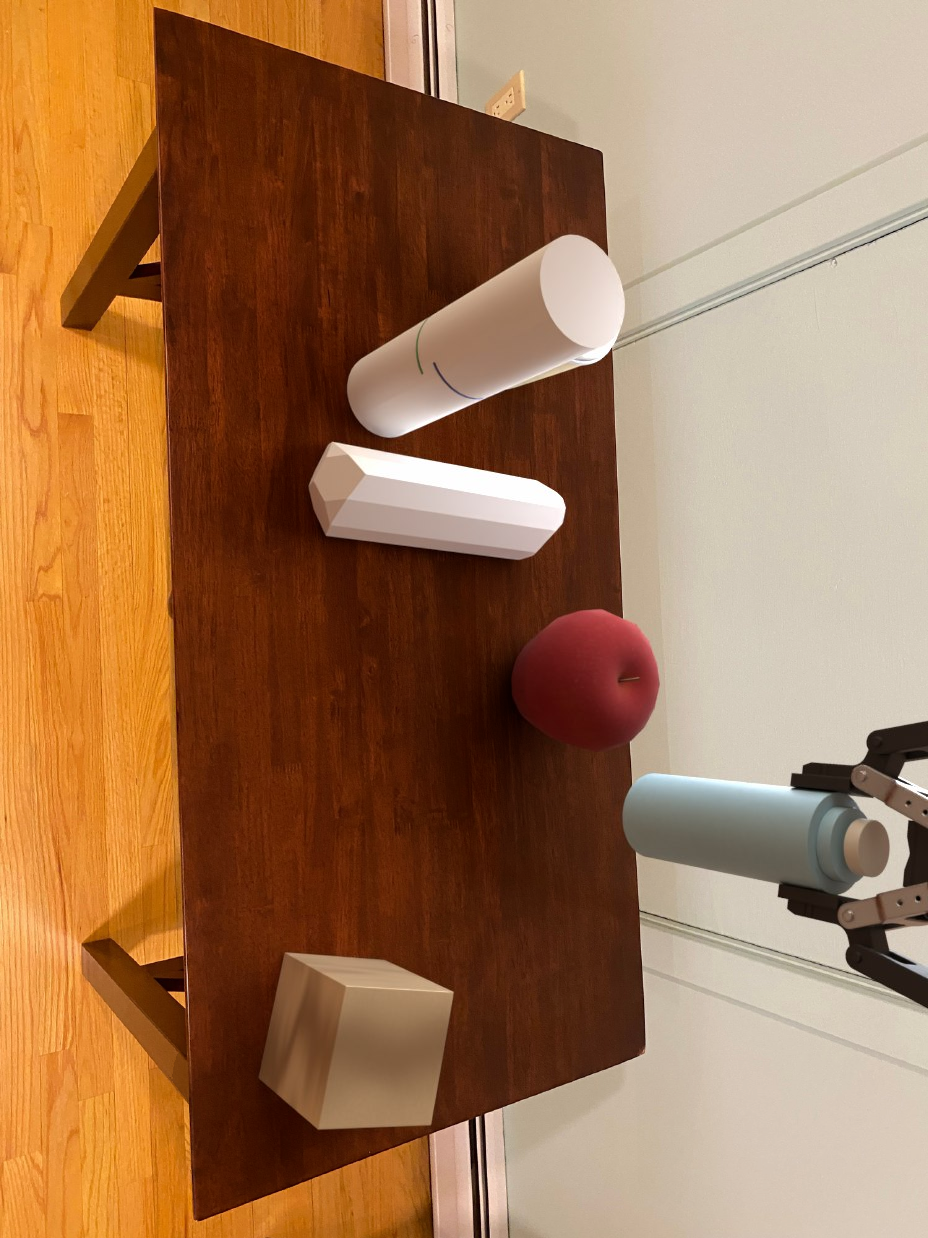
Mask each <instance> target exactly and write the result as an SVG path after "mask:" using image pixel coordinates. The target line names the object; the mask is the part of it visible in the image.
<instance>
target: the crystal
mask: <svg viewBox="0 0 928 1238" xmlns="http://www.w3.org/2000/svg"><path fill="white" fill-rule="evenodd" d="M308 492H309V495H310V499H311V504H312V508H313V509H312V510H313V511H314V514H315V515H316V517H317V520H318V522H319V525H320V527H321V528H322V531H323V534H324V535H325V536H326V537H331V538H332V537H333V538H339V539H349V540H358V541H364V542H365V541H366V542H371V543H372V542H374V543H380V544H388V545H395V546H396V545H397V546H406V547H413V548H419V549H420V548H421V549H428V550H430V549H431V550H437V551H445V552H452V553H453V552H454V553H460V554H468V555H475V556H476V555H477V556H485V557H491V558H492V557H493V558H500V559H507V560H508V559H509V560H515V561H516V560H517V561H521V560H524V559H528V558H530V557H534V556H535V554H536V553H537V552H538V551H539V550H540V549H541V548H542V547H543V546H544V545H545V544H546V543H547V542H548V540H550V539H551V538H552V536H553V535H554V534H555V533H556V532H557V531H558V529H560V528H561V526H562V525H563V523H564V519H565V514H566V504H565V502H564V499H563V497H562V496H561V495H560V494H559V493H558V492H556V491H555V490H553V489H552V488H550V487H548V486H547V485H545V484H543V483H541V482H540V481H538V480H535V479H531V478H524V477H521V476H515V475H509V474H503V473H498V472H493V471H489V470H482V469H477V468H472V467H467V466H462V465H457V464H451V463H446V462H445V463H444V462H441V461H435V460H429V459H424V458H420V457H414V456H410V455H409V456H408V455H404V454H398V453H394V452H387V451H383V450H378V449H371V448H367V447H362V446H356V445H352V444H351V445H350V444H346V443H341V442H336V441H335V442H334V441H330V442H329V443H328V444H327V446H326V447H325V450H324V452H323V454H322V456H321V457H320V460H319V462H318V463H317V466H316V467H315V470H314V471H313V474H312V476H311V478H310V481H309V484H308Z"/></svg>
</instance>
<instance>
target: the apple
mask: <svg viewBox="0 0 928 1238" xmlns="http://www.w3.org/2000/svg"><path fill="white" fill-rule="evenodd" d="M660 686H661V683H660V675H659V667H658V662H657V660H656V657H655V654H654V651H653V648H652V646H651V642H650V640H649V639H648V638H647V637H646V635H645V634H644V632H643V631H642V630H641V628H640V627H639V626H638V624H637V623H634V622H632V621H630V620H627V619H626V618H625V619H624V618H622V617H620V616H618V615H617V614H616V615H615V614H614V613H611V612H609V611H607V610H604V609H602V608H598V609H586V610H584V609H583V610H578V611H574V612H572V613H568V614H565V615H562V616H559V617H556V618H554V620H553V621H552V622H550V623H549V624H548V625H547V626H545V627H544V628H543V629H542V630H541V631H540V632H539V633H537V634H536V635H535V636H533V638H531V639H530V640H529V641H528V642H527V643H525V645H524V646H523V647H522V649H521V650H520V652H519V654H518V655H517V656H516V658H515V661H514V665H513V669H512V673H511V696H512V699H513V701H514V703H515V706H516V708H517V711H518V713H519V714H520V715H521V716H522V717H523V718H524V719H525V720H526V721H527V722H528V723H529V724H530V725H531V726H533V727H534V728H535V729H537V730H539V731H540V732H541V733H543V734H545V735H546V736H548V737H549V738H551V739H552V740H555V741H557V742H560V743H564V744H568V745H571V746H573V747H577V748H580V749H583V750H588V751H590V752H594V753H599V752H604V751H610V750H617V749H618V748H620V747H622V746H624V745H626V744H628V743H630V742H632V741H633V740H634V739H635V738H636V737H637V736H638V735H639V733H641V732H642V731H643V729H644V728H646V726H647V724H648V722H649V720H650V718H651V716H652V714H653V712H655V708H656V704H657V699H658V695H659V691H660Z"/></svg>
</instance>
